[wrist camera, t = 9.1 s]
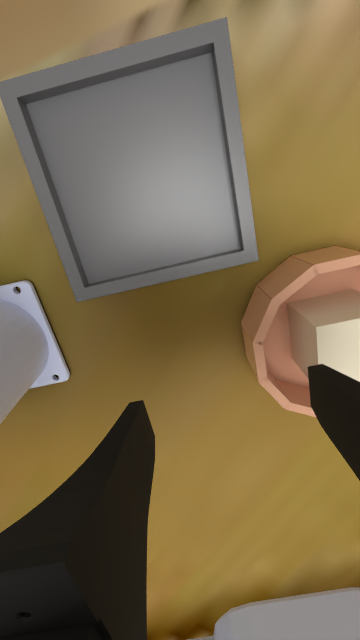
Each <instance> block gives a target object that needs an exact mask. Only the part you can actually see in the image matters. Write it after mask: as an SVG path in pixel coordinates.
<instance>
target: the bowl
mask: <svg viewBox="0 0 360 640" xmlns="http://www.w3.org/2000/svg"><path fill="white" fill-rule="evenodd" d="M349 289H354V290H356V291H359V292H360V251H356V250H351V249H347V248H343V247H338V246H331V247H327V248H322V249H318V250H313V251H309V252H305V253H300V254H296V255H291V256H290V257H289V258H287V259H286V260H285V261H284V262H283V263H281V264H280V265H279V266H278V267H277V268H275V269H274V270H273V271H272V272H271V273H270V274H268V275H267V276H266V277H265V278H264V279H262V280H261V281H260V282H259V283H258V284H256V286H255V289H254V291H253V294H252V296H251V299H250V301H249V303H248V306H247V308H246V311H245V313H244V316H243V318H242V321H241V327H242V333H243V339H244V345H245V351H246V357H247V359H248V361H249V363H250V365H251V367H252V369H253V371H254V373H255V375H256V378H257V380H258V382H259V383H260V384H261V385H262V386H263V387H264V388H265V389H266V390H267V391H268V392H269V393H270V394H271V395H272V396H273V398H274V399H275V400H276V401H277V402H278V403H279V404H280V405H281V406H282V407H283V408H284V409H286V410H290V411H294V412H298V413H302V414H306V415H310V416H314V417H316V415H315V413H314V411H313V409H312V407H311V403H310V391H309V379H308V378H307V377H306V376H305V374H304V373H303V372H302V370H301V369H300V368H299V367H298V365H297V364H296V363H295V361H294V360H293V359H292V351H291V340H290V329H289V319H288V308H287V303H288V302H293V301H297V300H302V299H307V298H311V297H316V296H321V295H326V294H330V293H335V292H340V291H344V290H349Z"/></svg>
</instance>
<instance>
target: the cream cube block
mask: <svg viewBox="0 0 360 640" xmlns="http://www.w3.org/2000/svg"><path fill="white" fill-rule="evenodd" d="M287 308H288V319H289V329H290V340H291V351H292V359H293V360H294V361H295V363H296V364H297V365H298V367H299V368H300V369H301V370H302V372H303V373H304V374H305V376H306V377H307V378H308V367H309V366H314V365H319V364H324V365H326V366H328V367H330V368H332V369H334V370H336V371H338V372H340V373H343V374H345V375H347V376H349V377H351V378H353V379H355V380H357V381H359V382H360V292H359V291H356V290H354V289H349V290H344V291H340V292H335V293H330V294H326V295H321V296H316V297H311V298H307V299H302V300H297V301H293V302H288V303H287Z"/></svg>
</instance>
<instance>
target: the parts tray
mask: <svg viewBox="0 0 360 640" xmlns="http://www.w3.org/2000/svg"><path fill="white" fill-rule="evenodd" d="M0 97H1V100H2V103H3V105H4V108H5V111H6V113H7V116H8V119H9V121H10V124H11V127H12V129H13V132H14V135H15V137H16V140H17V143H18V146H19V148H20V151H21V154H22V156H23V159H24V162H25V164H26V167H27V170H28V172H29V175H30V178H31V180H32V183H33V186H34V188H35V191H36V194H37V197H38V199H39V202H40V205H41V207H42V210H43V213H44V215H45V218H46V221H47V223H48V226H49V229H50V231H51V234H52V237H53V239H54V242H55V245H56V248H57V250H58V253H59V256H60V258H61V261H62V264H63V266H64V269H65V272H66V274H67V277H68V280H69V282H70V285H71V288H72V290H73V293H74V296H75V299H76V301H77V302H80V301H84V300H88V299H93V298H97V297H101V296H106V295H110V294H115V293H119V292H123V291H128V290H132V289H136V288H141V287H145V286H150V285H154V284H158V283H163V282H167V281H171V280H176V279H180V278H185V277H189V276H193V275H198V274H202V273H206V272H211V271H215V270H219V269H224V268H228V267H233V266H237V265H241V264H246V263H250V262H254V261H259V259H258V252H257V244H256V236H255V229H254V221H253V213H252V206H251V198H250V190H249V183H248V175H247V167H246V160H245V152H244V145H243V137H242V129H241V122H240V114H239V106H238V99H237V91H236V83H235V76H234V68H233V60H232V53H231V45H230V37H229V30H228V22H227V17H225V18H222V19H218V20H215V21H211V22H208V23H204V24H201V25H197V26H194V27H190V28H187V29H183V30H180V31H176V32H173V33H169V34H166V35H162V36H159V37H155V38H152V39H148V40H145V41H141V42H138V43H134V44H131V45H127V46H124V47H120V48H117V49H113V50H110V51H106V52H103V53H99V54H96V55H92V56H89V57H85V58H82V59H78V60H75V61H71V62H68V63H64V64H61V65H57V66H54V67H50V68H47V69H43V70H40V71H36V72H33V73H29V74H26V75H22V76H19V77H15V78H12V79H8V80H5V81H1V82H0Z"/></svg>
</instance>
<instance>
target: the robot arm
mask: <svg viewBox="0 0 360 640" xmlns="http://www.w3.org/2000/svg"><path fill="white" fill-rule="evenodd" d="M16 287H19V288H20V289H21V292H18V291H17V290H16ZM54 375H58V376H59V378H57V377H55V376H54ZM69 377H70V372H69V370H68V367H67V365H66V363H65V360H64V358H63V355H62V353H61V351H60V348H59V346H58V344H57V341H56V339H55V336H54V334H53V332H52V329H51V327H50V324H49V322H48V320H47V317H46V315H45V313H44V310H43V308H42V305H41V303H40V301H39V298H38V296H37V294H36V291H35V289H34V286H33V285H32V283H31V282H29V281H27V280H23V281H19V282H14V283H10V284H6V285H2V286H0V424H1V423H2V421H3V420H4V419H5V418H6V416H7V415H8V414H9V413H10V411H11V410H12V409H13V408H14V407H15V405H16V404H17V403H18V402H19V400H20V399H21V398H22V397H23V396H24V394H25V393H26V392H27V391H28V389H30V388H35V387H40V386H45V385H49V384H54V383H59V382H64V381H66V380H68V378H69ZM308 379H309V391H310V403H311V407H312V409H313V411H314V413H315V415H316V417H317V419H318V421H319V423H320V424H321V426H322V428H323V429H324V431H325V432H326V434H327V435H328V436H329V438H330V439H331V441H332V442H333V444H334V445H335V446H336V448H337V449H338V451H339V452H340V453H341V455H342V456H343V458H344V459H345V460H346V462H347V463H348V465H349V466H350V467H351V469H352V470H353V472H354V473H355V474H356V476H357V477H358V479H359V480H360V382H359V381H357V380H355V379H353V378H351V377H349V376H347V375H345V374H343V373H340V372H338V371H336V370H334V369H332V368H330V367H328V366H326V365H324V364H319V365H314V366H309V367H308ZM154 462H155V435H154V432H153V429H152V426H151V423H150V420H149V417H148V414H147V411H146V408H145V405H144V402H143V400H141V401H136V402H131V403H129V404H128V406H127V407H126V409H125V410H124V411H123V413H122V414H121V416H120V417H119V419H118V420H117V421H116V423H115V424H114V426H113V427H112V428H111V430H110V431H109V433H108V434H107V435H106V437H105V438H104V439H103V440H102V442H101V443H100V444H99V445H98V447H97V448H96V449H95V450H94V452H93V453H92V454H91V455H90V456H89V458H88V459H87V460H86V461H85V462H84V463H83V464H82V465H81V466H80V467H79V468H78V469H77V470H76V471H75V472H74V473H73V474H72V475H71V476H70V477H69V478H68V479H67V480H66V481H65V482H64V483H63V484H62V485H61V486H60V487H59V488H57V489H56V490H55V491H54V492H53V493H52V494H51V495H50V496H49V497H47V498H46V499H45V500H44V501H43V502H41V503H40V504H39V505H38V506H36V507H35V508H34V509H33V510H31V511H30V512H29V513H28V514H26V515H25V516H24V517H22V518H21V519H20V520H18V521H17V522H15V523H14V524H12V525H11V526H10V527H8V528H7V529H5V530H4V531H2V532H1V533H0V640H147V610H146V573H147V526H148V512H149V504H150V495H151V487H152V479H153V471H154ZM188 640H360V588H344V589H337V590H331V591H324V592H318V593H311V594H304V595H298V596H291V597H285V598H278V599H271V600H265V601H258V602H252V603H248V604H244V605H241V606H238V607H235V608H232V609H230V610H229V611H228V612H226V613H225V614H224V615H223V616H222V617H221V618H219V619H218V621H217V622H216V624H215V629H214V636H209V637H202V638H195V639H188Z"/></svg>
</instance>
